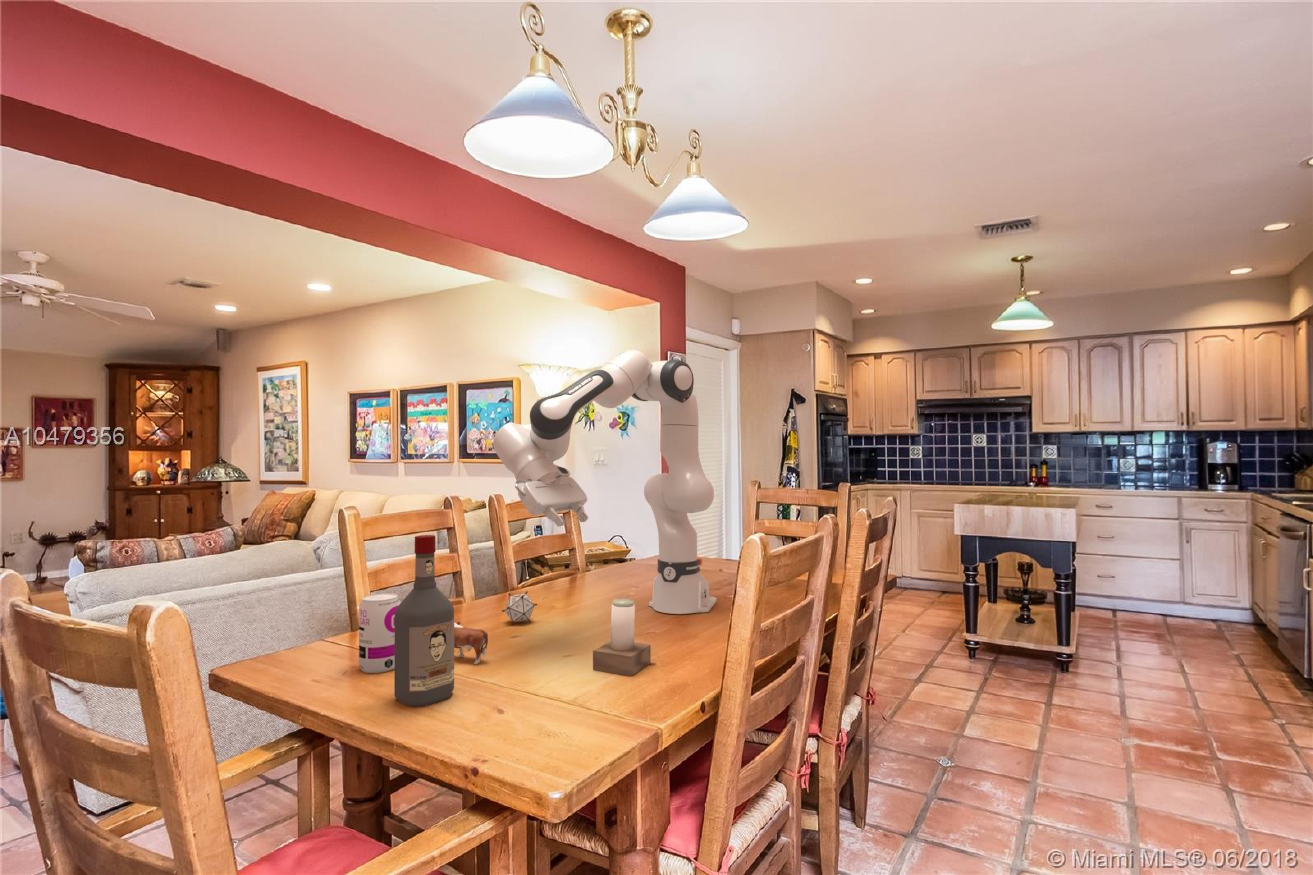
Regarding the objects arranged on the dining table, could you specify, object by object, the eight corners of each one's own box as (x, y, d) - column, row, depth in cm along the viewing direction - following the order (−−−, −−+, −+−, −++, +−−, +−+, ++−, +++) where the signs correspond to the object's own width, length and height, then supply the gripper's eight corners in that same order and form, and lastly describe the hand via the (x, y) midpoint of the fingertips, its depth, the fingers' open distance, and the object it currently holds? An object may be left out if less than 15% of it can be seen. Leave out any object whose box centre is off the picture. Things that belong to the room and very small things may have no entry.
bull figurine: (449, 652, 151) (449, 616, 151) (492, 661, 144) (492, 624, 144) (434, 657, 147) (434, 620, 147) (477, 667, 140) (477, 628, 140)
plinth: (614, 657, 146) (614, 639, 146) (650, 663, 142) (650, 644, 142) (592, 669, 138) (592, 650, 138) (630, 676, 134) (630, 656, 134)
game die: (524, 638, 174) (531, 612, 169) (494, 626, 175) (501, 600, 169) (536, 614, 182) (544, 589, 177) (508, 603, 182) (514, 577, 177)
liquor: (389, 697, 123) (389, 536, 123) (433, 684, 130) (434, 532, 130) (414, 710, 117) (415, 541, 117) (459, 695, 124) (460, 535, 124)
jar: (618, 642, 144) (619, 597, 144) (638, 646, 141) (639, 600, 141) (605, 648, 139) (607, 601, 139) (626, 652, 137) (627, 604, 137)
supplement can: (408, 663, 143) (408, 593, 143) (383, 675, 135) (383, 602, 135) (376, 660, 145) (377, 591, 145) (350, 672, 137) (350, 600, 137)
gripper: (519, 471, 146) (556, 517, 141) (571, 468, 164) (604, 509, 160) (503, 490, 148) (539, 536, 143) (556, 486, 166) (589, 526, 162)
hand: (574, 522), depth 152 cm, fingers open, 8 cm apart
